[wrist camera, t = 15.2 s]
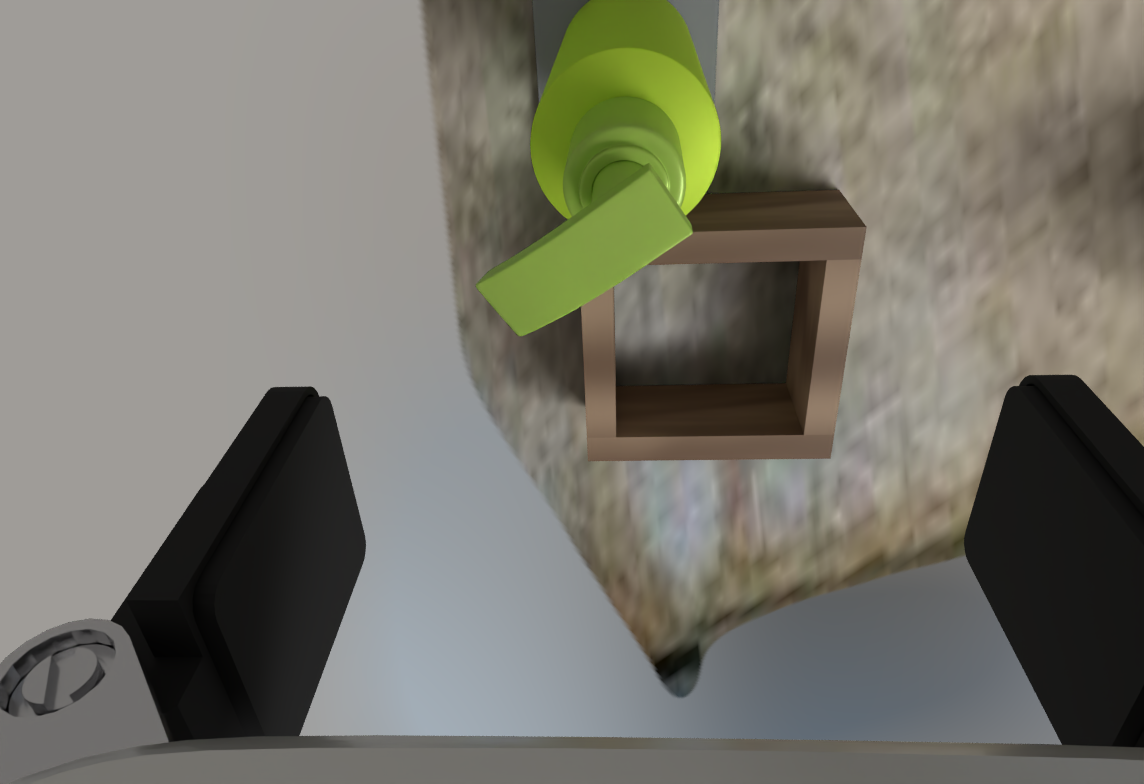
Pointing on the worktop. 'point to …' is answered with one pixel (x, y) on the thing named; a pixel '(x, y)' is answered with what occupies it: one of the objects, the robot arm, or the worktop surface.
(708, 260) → the walnut stand
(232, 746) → the robot arm
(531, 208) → the worktop surface
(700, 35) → the rubber mat
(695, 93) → the soap dispenser
